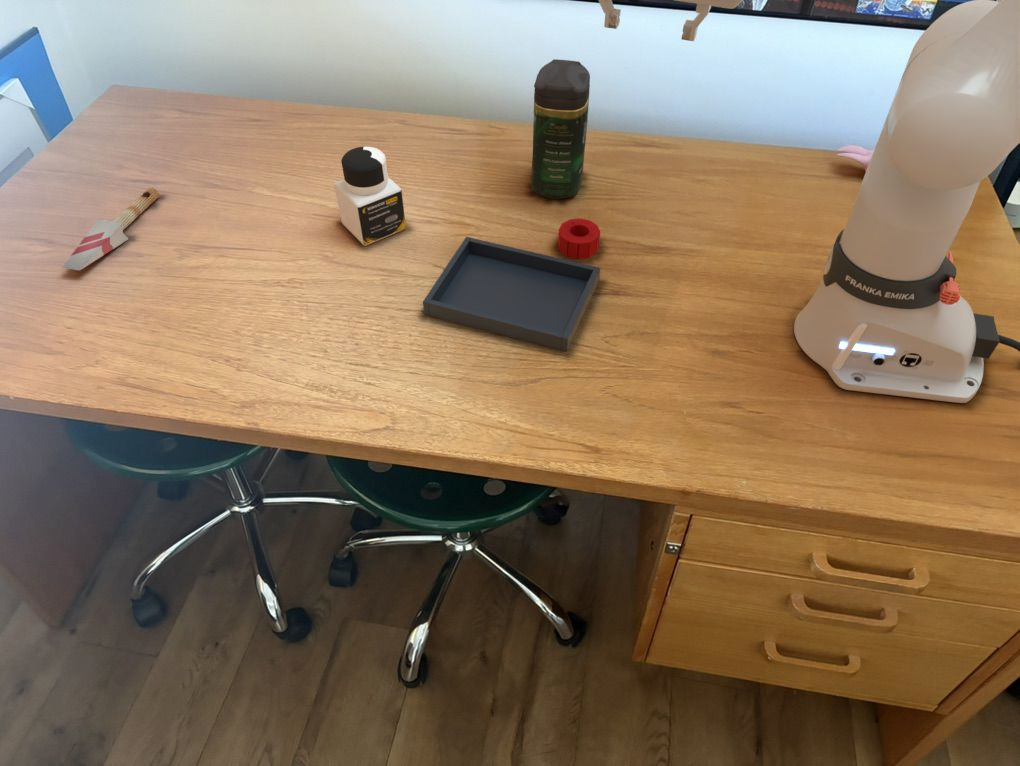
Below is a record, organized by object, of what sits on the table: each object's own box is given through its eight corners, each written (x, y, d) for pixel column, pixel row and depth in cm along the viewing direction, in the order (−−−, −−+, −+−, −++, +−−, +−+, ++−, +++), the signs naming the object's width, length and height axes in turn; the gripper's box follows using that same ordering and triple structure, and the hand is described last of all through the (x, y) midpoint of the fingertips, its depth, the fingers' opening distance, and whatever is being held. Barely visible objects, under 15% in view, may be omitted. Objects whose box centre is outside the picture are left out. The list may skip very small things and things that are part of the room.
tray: (599, 282, 109) (600, 267, 107) (566, 354, 100) (567, 339, 98) (466, 251, 113) (466, 236, 111) (424, 317, 104) (422, 301, 102)
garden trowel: (54, 257, 108) (140, 182, 121) (61, 273, 110) (146, 198, 123) (78, 262, 107) (163, 186, 121) (86, 278, 109) (168, 202, 122)
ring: (602, 241, 115) (604, 223, 113) (591, 265, 111) (593, 246, 109) (565, 233, 116) (566, 215, 114) (552, 256, 113) (553, 238, 110)
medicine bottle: (364, 247, 114) (352, 175, 105) (340, 223, 118) (327, 151, 109) (407, 229, 117) (398, 157, 108) (382, 206, 121) (372, 135, 112)
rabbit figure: (924, 181, 128) (833, 151, 129) (945, 149, 123) (851, 119, 124) (924, 202, 124) (830, 171, 125) (946, 170, 119) (848, 139, 120)
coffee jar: (579, 203, 121) (587, 88, 107) (528, 199, 122) (530, 84, 108) (585, 168, 128) (594, 56, 114) (536, 164, 129) (539, 52, 115)
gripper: (769, -95, 85) (741, 35, 95) (585, -116, 89) (577, 9, 100) (760, -75, 81) (731, 58, 91) (568, -99, 85) (561, 30, 96)
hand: (649, 32), depth 95 cm, fingers open, 8 cm apart
